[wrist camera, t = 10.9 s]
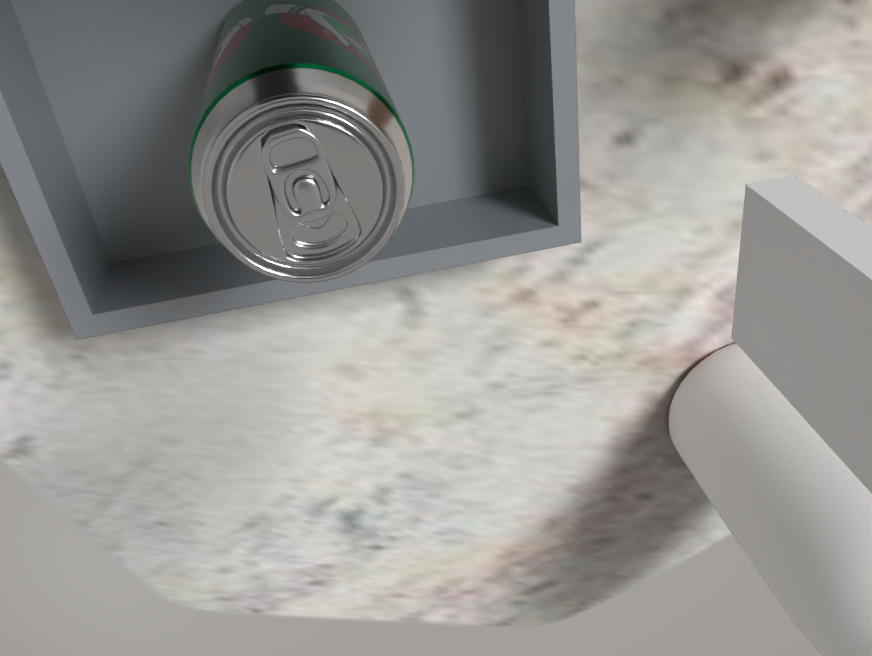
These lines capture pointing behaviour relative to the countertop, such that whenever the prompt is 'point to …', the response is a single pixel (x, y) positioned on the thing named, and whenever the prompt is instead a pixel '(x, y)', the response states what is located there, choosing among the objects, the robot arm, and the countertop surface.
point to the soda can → (298, 143)
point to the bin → (176, 118)
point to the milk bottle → (780, 498)
